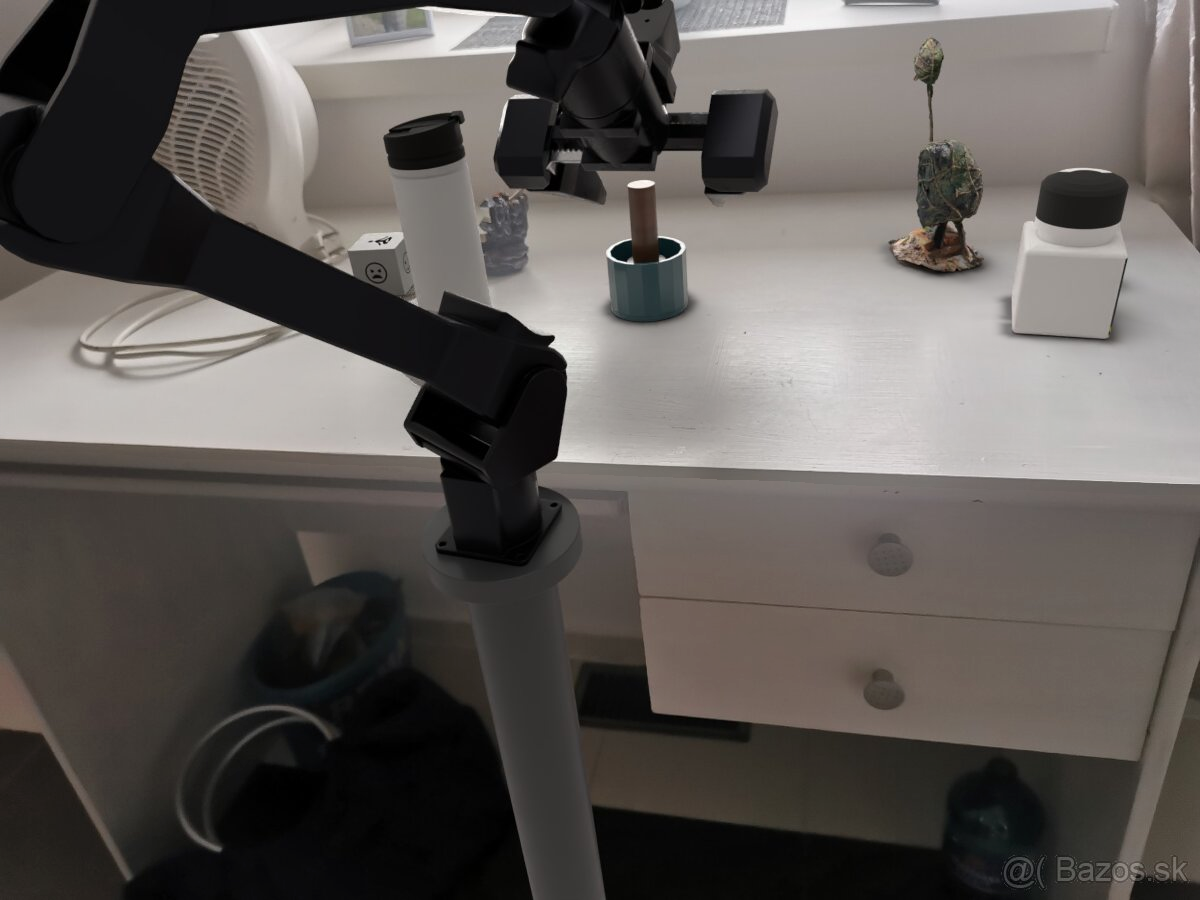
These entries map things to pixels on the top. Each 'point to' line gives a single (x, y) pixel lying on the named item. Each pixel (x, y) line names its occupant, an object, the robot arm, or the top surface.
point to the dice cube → (382, 262)
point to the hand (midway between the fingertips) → (661, 199)
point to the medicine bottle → (1072, 256)
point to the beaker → (648, 282)
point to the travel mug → (437, 208)
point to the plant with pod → (941, 189)
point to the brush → (643, 222)
